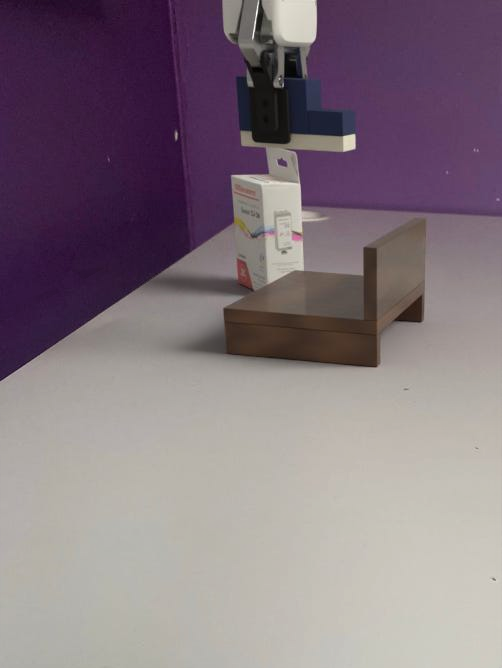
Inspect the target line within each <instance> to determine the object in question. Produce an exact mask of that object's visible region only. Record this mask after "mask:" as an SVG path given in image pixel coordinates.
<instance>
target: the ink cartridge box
mask: <svg viewBox="0 0 502 668" xmlns="http://www.w3.org/2000/svg"><path fill="white" fill-rule="evenodd" d="M265 153H266V159H267V160H266V162H267V168H268V173H267V174H263V173H262V174H260V173H259V174H231V175H230V180H231V181H230V182H231V193H232V195H231V196H232V206H233V221H234V223H233V224H234V236H235V237H234V238H235V239H234V240H235V252H236V253H235V255H236V268H237V281H238V282H237V283H238V284H239V285H242V286H245V287H246V288H248V289H250V290H252V291H253V292H255V291H256V290H258V289H260V288H262V287H264V286H266V285H268V284H270V283H271V282H273V281H275V280H277V279H279V278H281V277H283V276H285V275H287V274H288V273H290V272H292V271H294V270H301V271H305V264H304V243H303V242H304V239H303V216H302V214H303V213H302V190H301V189H302V187H301V181H300V180H301V179H300V172H299V163H298V162H299V161H298V155H297V153H296V152H295V151H292V150H289V149H284V148H267V147H265ZM281 159H282V160H283V161H284V162H286V165H287V166H283V165H281V164H279V163H278V160H281Z"/></svg>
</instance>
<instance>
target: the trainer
mask: <svg viewBox="0 0 502 668" xmlns="http://www.w3.org/2000/svg"><path fill="white" fill-rule="evenodd" d="M235 81H236V82H235V83H236V95H237V111H238V128H239V131H240V142H241V143H240V144H241V146H242V147H251V148H252V147H253V148H266V147H267V148H281V149H285V150H301V151H317V152H318V151H319V152H334V153H346V152H349V151H353V150H356V130H357V129H356V127H357V126H356V110H354V109H337V108H323V105H322V104H323V103H322V80H321V78H308V79H305V78H286V77H284V88H283V90H289V112H290V135H291V140H290V142H289V143H288V144H272V143H256V142H254V141H253V139H252V131H251V114H250V98H249V87H248V84H247V75H237V76H235Z"/></svg>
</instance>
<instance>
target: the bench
mask: <svg viewBox="0 0 502 668" xmlns="http://www.w3.org/2000/svg"><path fill="white" fill-rule="evenodd" d="M426 240H427V218H426V217H414V218H412V219H410V220H409V221H407V222H404V223H403V224H401V225H400V226H398V227H396V228H394V229H393V230H390V231H389V232H387V233H386V234H383V235H382V236H381V237H379V238H377V239H374V240H373V241H371V242H370V243H368V244H367V245H365V246H363V249H362V251H363V252H362V254H363V255H362V258H363V259H362V260H363V263H362V264H363V265H362V267H363V271H362V272H363V274H351V273H336V272H323V271H312V270H304V271H301V270H294V271H292V272H290V273H288V274H287V275H285V276H283V277H281V278H279V279H277V280H275V281H273V282H271V283H270V284H268V285H266V286H264V287H262V288H260V289H258V290H256V291H253V292H251V293H248V294H247V295H245V296H243V297H242V298H239V299H238V300H236V301H233V302H232V303H230V304H228V305H227V306H224V307H223V308H222V310H223V311H222V312H223V322H224V323H223V325H224V337H225V350H226V351H225V353H226V354H229V355H239V356H240V355H241V356H252V357H263V358H273V359H274V358H275V359H284V360H285V359H286V360H295V361H306V362H307V361H308V362H318V363H329V364H339V365H340V364H341V365H349V366H350V365H352V366H360V367H361V366H362V367H373V368H377V367H378V366H379V365H380V364H381V332H382V331H383V330H384V329H385V328H386V327H388V326H389V325H390V324H391V323H392V322H393V321H406V322H417V323H422V322H423V321H424V320H425V301H426V300H425V298H426V297H425V295H426V294H425V292H426V252H427V251H426V244H427V241H426Z"/></svg>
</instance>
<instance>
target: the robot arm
mask: <svg viewBox="0 0 502 668" xmlns="http://www.w3.org/2000/svg"><path fill="white" fill-rule="evenodd" d="M221 1H222V3H221V4H222V25H223V32H224V34H225V37H226V38H227V40H228V41H229V42H231V44H233V45H238V49H239V50H240V52H241V54H242V55H243V61H244V63H245V65H246V76H247V84H248V87H249V98H250V114H251V131H252V139H253V141H254V142H256V143H272V144H288V143H289V142H290V140H291V135H290V112H289V90H283V88H284V77H286V78H305V79H309V77H308V66H307V65H308V64H309V63H308V61H309V60H308V59H309V58H308V56H309V54H310V51H311V45H312V44H313V43H314V42H315V41H316V38H317V32H318V31H317V29H318V27H317V26H318V9H317V8H318V6H317V5H318V4H317V3H318V2H317V0H221Z"/></svg>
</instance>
